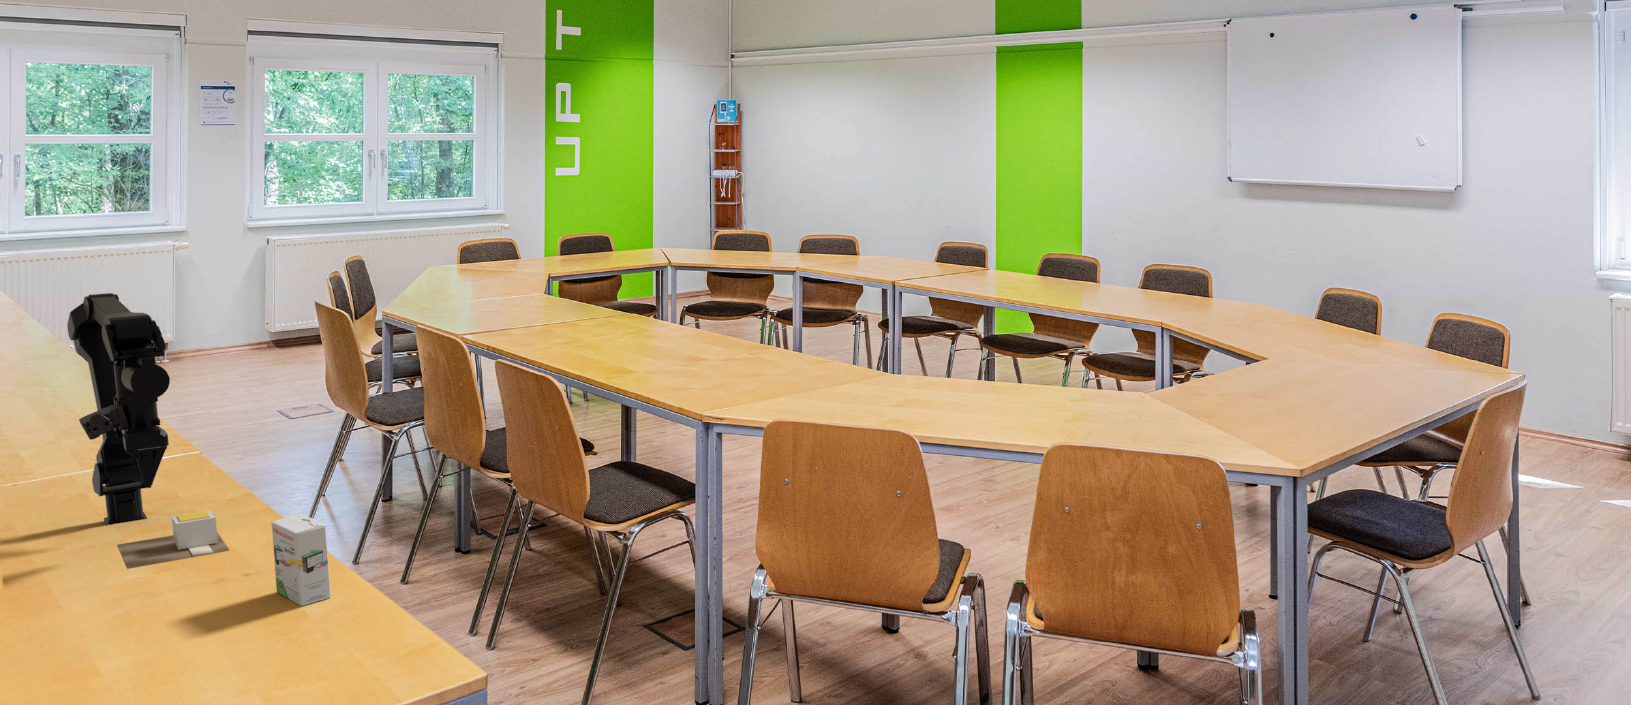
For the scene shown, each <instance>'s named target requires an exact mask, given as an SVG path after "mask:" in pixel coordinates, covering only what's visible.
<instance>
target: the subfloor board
mask: <svg viewBox="0 0 1631 705" xmlns="http://www.w3.org/2000/svg"><path fill="white" fill-rule="evenodd" d="M217 538H218V543H214V544H209V545H203V546H197V547H192V548H186V549H180V550H178V548H177V546H176V544H175V543H174V537H173V535H172V534H171V535H168V536H166V535H165V536H161V537H154V538H149V539H143V540H137V541H133V542H125V543H120V544H117V547H118V549H119V552H120V554H121V556H122V559H123V562H124V563H125V566H126V568H127V570H128V569H133V568H140V567H146V566H151V565H157V564H158V565H159V564H163V563H167V562H173V561H179V560H185V559H190V558H196V557H202V556H208V555H212V554H218V553H224V552H229V551H230V549H229V547H228V546H227V544H226V543H225V541H224V540H223V538H222V537H221V535H220V533H218V532H217Z"/></svg>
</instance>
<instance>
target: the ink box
mask: <svg viewBox="0 0 1631 705" xmlns="http://www.w3.org/2000/svg"><path fill="white" fill-rule="evenodd" d="M326 526H327V525H325V524H324V523H322V522H320V521H319V520H316V519H314V518H312V517H310V516H308V515H306V514H304V513H298V514H294V515H292V516H288V517H284V518H281V519H277V520H273V521H271V533H272V545H273V557H274V558H273V559H274V571H275V586H276V593H277V594H279V595H281V596H282V597H284V598H286V599H289V600H290V601H292V602H294V603H295V604H297V605H299V606H301V607H303V606H306V605H307V606H308V605H310V604H314V603H318V602H319V601H324V600H328V599H330V598H331V597H332V593H331V592H332V591H331V582H330V566H329V556H328V554H329V553H328V542H327V541H328V540H327V528H326Z"/></svg>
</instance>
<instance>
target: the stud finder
mask: <svg viewBox="0 0 1631 705" xmlns="http://www.w3.org/2000/svg"><path fill="white" fill-rule="evenodd" d="M171 525H172V534H173V537H174V543H175V544H176V546H177V548H178V550H180V549H186V548H192V547H197V546H203V545H209V544H214V543H218V538H217V533H218V530H217V529H218V528H217V518H216V516H215V515H214V513H213V512H212V511H211V510H210V509H209V510H203V511H197V512H190V513H185V514H179V515H173V516H171Z"/></svg>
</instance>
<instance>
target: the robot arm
mask: <svg viewBox="0 0 1631 705" xmlns="http://www.w3.org/2000/svg"><path fill="white" fill-rule="evenodd" d="M67 333H68V337H69V340H70V341H72V342H73V345H74V349H75V351H76V353H77V354H78V355H79V356H80V357H81V358H82V359H84V361H86V362H87V364H88V368H89V373H90V374H89V375H90V378H91V383H92V388H93V389H92V390H93V394H94V399H95V400H94V401H95V404H96V411H93V412H92V413H90V414H87V415H84V416H82V417H81V418H79V419H78V422H79V423H80V425H81V427H82V429H83V430H84V432H85V434H86V435H87V437H88V440H90V441H91V440H95V439H97V438H99V437H100V436H101V435H102V443H101V444H100V447H99V449H98V451H97V453H96V454H95V455H96V456H95V458H96V462H95V463H94V467H93V474H92V478H91V482H92V488H93V492H94V493H95V494H96V495H98V497H103V496H104V498H105V507H106V515H107V516H106V517H104V518H103V523H104V524H105V526H110V525H111V526H112V525H117V524H118V525H119V524H123V523H130V522H136V521H142V520H143V521H144V520H147V519H148V518H147V515H146V513H145V512H144V509H143V498H142V490H144V489H151V488H152V486H153V484H154V480H155V478H156V475H157V473H158V469H159V467H160V466H161V462H162V459H163V457H164V455H165V453H166V450H167V449H168V446H169V445H170V444H169V435H168V433H167V431H166V430H165V429H163V428H162V427H161V419H160V418H159V416H158V415H159V414H158V403H157V402H159V397H161V396H163V395H164V394H165V393H166V392H167V391H168V389H169V387H170V384H171V382H170V381H171V379H170V375H169V374H168V372H167V370H166V369H165V368H164V367H162V366H161V365H159V364H157V363H156V358H157V357H158V358H159V357H164V356H166V354H165V350H166V346H167V345H166V343H165V339H164V336H163V334H162V332H161V329H160V326H158V325H157V321H155V320H153V319H152V317H151V315H149V314H148V313H145V312H132V311H131V310H130V309H128V308H127V306H125V304H123V303H122V302H121V301H120V298H119V295H118V294H114V293H113V292H112V293H111V292H109V293H96V294H88V295H87V296H85V295H84V297H83V302H82V303H80V304H79V305H78V306H77V307H75V308H74V309H73V310H71V311H70V312H69V316H68V320H67Z"/></svg>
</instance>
